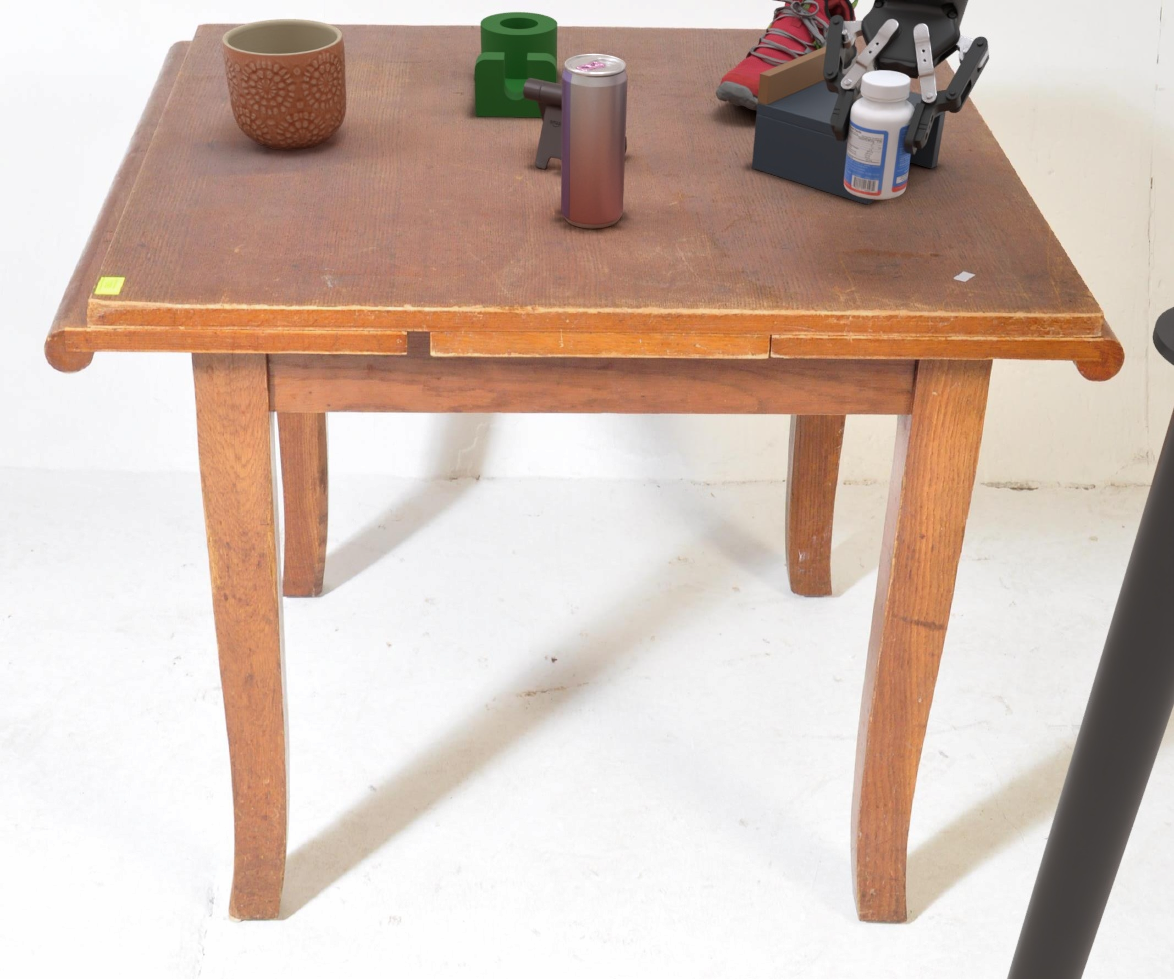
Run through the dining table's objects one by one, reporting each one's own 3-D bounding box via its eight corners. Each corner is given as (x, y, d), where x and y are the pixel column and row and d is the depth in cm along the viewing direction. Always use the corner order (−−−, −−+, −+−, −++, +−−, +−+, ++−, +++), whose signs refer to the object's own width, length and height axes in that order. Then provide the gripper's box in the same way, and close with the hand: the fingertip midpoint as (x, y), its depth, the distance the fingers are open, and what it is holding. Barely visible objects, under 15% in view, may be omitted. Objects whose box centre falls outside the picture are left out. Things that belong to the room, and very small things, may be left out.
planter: (318, 110, 161) (309, 12, 155) (371, 144, 153) (364, 42, 147) (214, 132, 155) (201, 30, 149) (264, 168, 147) (252, 62, 141)
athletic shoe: (675, 104, 165) (681, -2, 158) (827, 63, 178) (838, -36, 172) (750, 135, 157) (759, 26, 151) (903, 91, 170) (918, -12, 164)
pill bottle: (890, 174, 127) (905, 65, 121) (916, 198, 123) (932, 85, 117) (832, 180, 126) (844, 69, 120) (856, 204, 121) (870, 90, 116)
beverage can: (548, 216, 138) (548, 61, 130) (593, 200, 142) (597, 49, 133) (589, 236, 135) (593, 78, 126) (635, 219, 138) (641, 65, 130)
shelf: (937, 166, 151) (952, 72, 145) (867, 205, 142) (880, 106, 137) (824, 133, 158) (835, 42, 153) (751, 168, 150) (759, 73, 144)
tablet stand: (628, 156, 152) (631, 78, 147) (591, 181, 146) (593, 100, 141) (556, 140, 155) (556, 63, 150) (517, 163, 149) (517, 84, 145)
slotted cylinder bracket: (483, 64, 175) (482, 11, 172) (557, 66, 176) (557, 13, 172) (475, 116, 161) (474, 59, 157) (556, 117, 161) (556, 60, 157)
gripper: (846, -73, 121) (784, 108, 119) (1016, -52, 116) (955, 138, 114) (858, -23, 128) (800, 149, 126) (1019, -1, 123) (961, 178, 121)
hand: (874, 143), depth 120 cm, fingers closed on pill bottle, 5 cm apart
